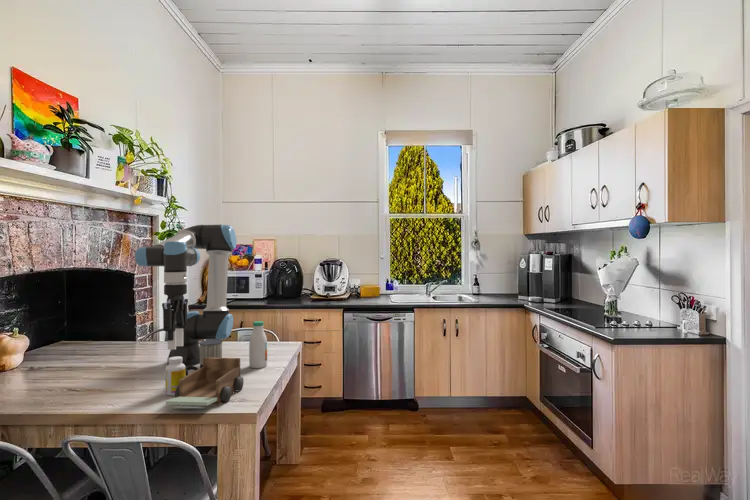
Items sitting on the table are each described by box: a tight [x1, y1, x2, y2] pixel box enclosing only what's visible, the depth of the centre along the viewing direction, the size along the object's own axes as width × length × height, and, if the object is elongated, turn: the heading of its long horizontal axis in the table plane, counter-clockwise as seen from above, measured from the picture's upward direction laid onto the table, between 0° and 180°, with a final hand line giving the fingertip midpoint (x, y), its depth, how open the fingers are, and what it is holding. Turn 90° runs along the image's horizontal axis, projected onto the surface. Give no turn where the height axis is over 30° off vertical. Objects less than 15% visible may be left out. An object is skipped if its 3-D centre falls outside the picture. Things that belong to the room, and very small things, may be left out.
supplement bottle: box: [164, 356, 186, 397], centre depth 152 cm, size 7×7×13 cm
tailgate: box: [165, 397, 217, 407], centre depth 136 cm, size 14×2×7 cm
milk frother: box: [185, 339, 224, 376], centre depth 171 cm, size 14×16×15 cm
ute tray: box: [174, 357, 245, 405], centre depth 150 cm, size 18×18×11 cm
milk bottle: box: [248, 320, 268, 369], centre depth 187 cm, size 8×8×20 cm
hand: (175, 347), depth 152 cm, fingers open, 4 cm apart
